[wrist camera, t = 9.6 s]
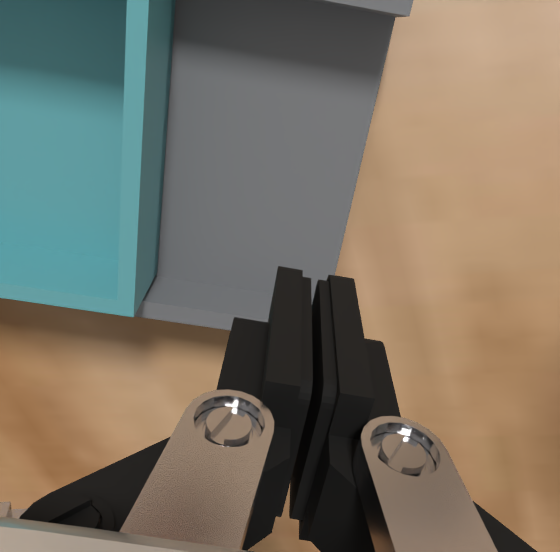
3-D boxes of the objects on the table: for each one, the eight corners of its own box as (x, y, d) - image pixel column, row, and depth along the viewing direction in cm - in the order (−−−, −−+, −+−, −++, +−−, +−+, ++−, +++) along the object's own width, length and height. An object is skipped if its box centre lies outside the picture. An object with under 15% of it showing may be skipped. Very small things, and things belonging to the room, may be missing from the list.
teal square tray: (-148, -75, 22) (-258, -100, 18) (176, -15, 23) (149, -24, 19) (-98, 233, 29) (-170, 272, 24) (157, 272, 29) (133, 317, 25)
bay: (-180, -117, 23) (-267, -143, 19) (397, -6, 24) (416, -12, 21) (-115, 242, 30) (-169, 271, 27) (323, 308, 32) (328, 344, 28)
